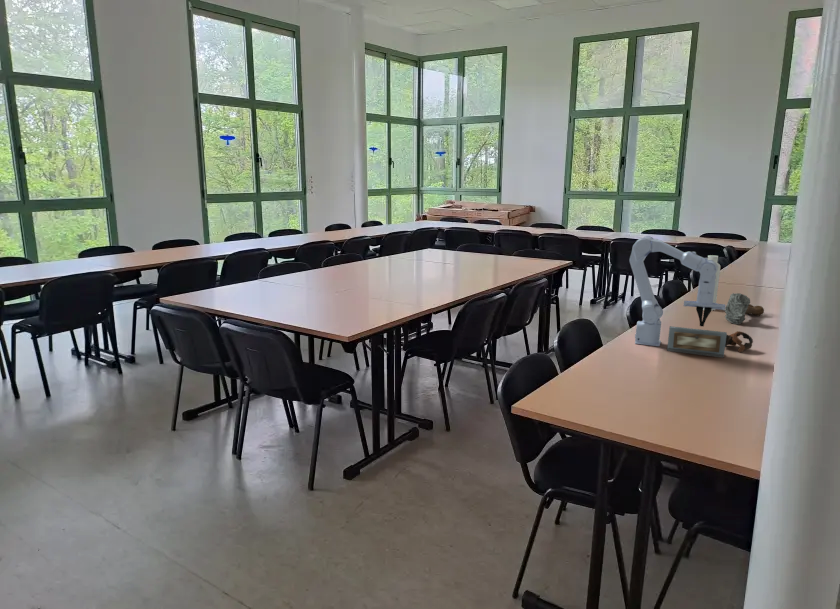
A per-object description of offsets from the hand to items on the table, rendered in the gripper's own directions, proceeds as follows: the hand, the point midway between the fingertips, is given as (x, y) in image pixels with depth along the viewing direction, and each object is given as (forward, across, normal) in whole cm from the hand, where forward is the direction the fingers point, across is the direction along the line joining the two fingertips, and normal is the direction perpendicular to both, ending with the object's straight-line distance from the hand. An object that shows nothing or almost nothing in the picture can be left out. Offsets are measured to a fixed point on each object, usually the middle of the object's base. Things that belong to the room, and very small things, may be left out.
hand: (701, 325), depth 223 cm
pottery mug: (+11, +13, +9) cm, 19 cm away
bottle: (+11, +3, +84) cm, 84 cm away
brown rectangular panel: (+8, -1, -7) cm, 10 cm away
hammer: (+11, +19, +67) cm, 70 cm away
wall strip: (+10, -1, -4) cm, 11 cm away
